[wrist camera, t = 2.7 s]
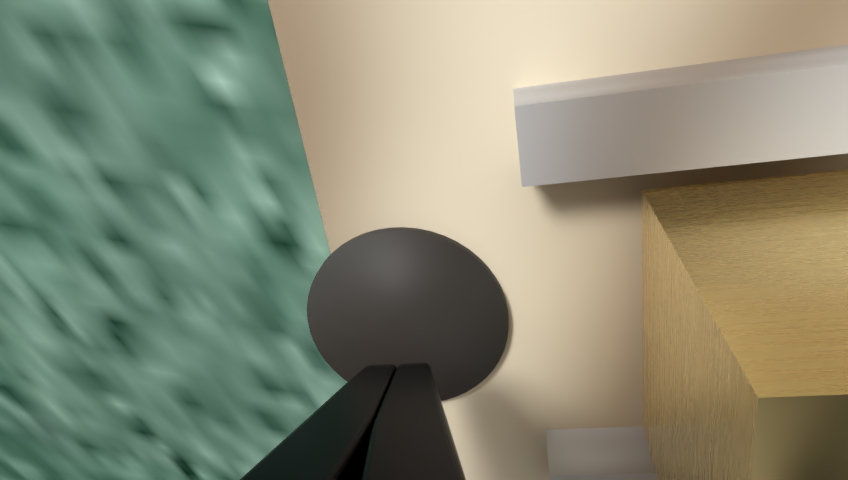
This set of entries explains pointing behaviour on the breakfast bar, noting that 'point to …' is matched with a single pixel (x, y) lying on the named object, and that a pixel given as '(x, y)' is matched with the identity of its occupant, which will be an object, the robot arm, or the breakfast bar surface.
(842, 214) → the block
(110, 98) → the breakfast bar surface
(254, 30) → the breakfast bar surface
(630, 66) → the plate
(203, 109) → the breakfast bar surface
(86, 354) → the breakfast bar surface
